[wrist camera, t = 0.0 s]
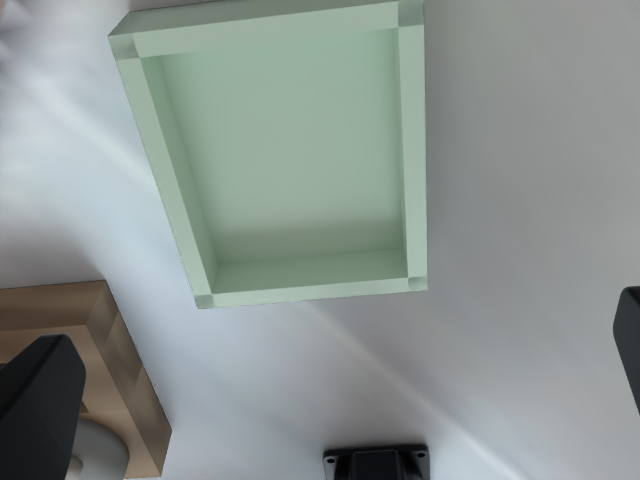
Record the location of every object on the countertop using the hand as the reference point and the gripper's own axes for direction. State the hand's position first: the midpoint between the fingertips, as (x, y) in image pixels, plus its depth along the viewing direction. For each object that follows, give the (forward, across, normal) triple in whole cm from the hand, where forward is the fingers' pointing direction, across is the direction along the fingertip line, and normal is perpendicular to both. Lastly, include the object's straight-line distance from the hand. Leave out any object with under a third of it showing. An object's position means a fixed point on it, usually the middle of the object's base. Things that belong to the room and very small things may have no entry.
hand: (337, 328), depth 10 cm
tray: (+15, +2, +4) cm, 15 cm away
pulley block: (+15, +16, +16) cm, 27 cm away
